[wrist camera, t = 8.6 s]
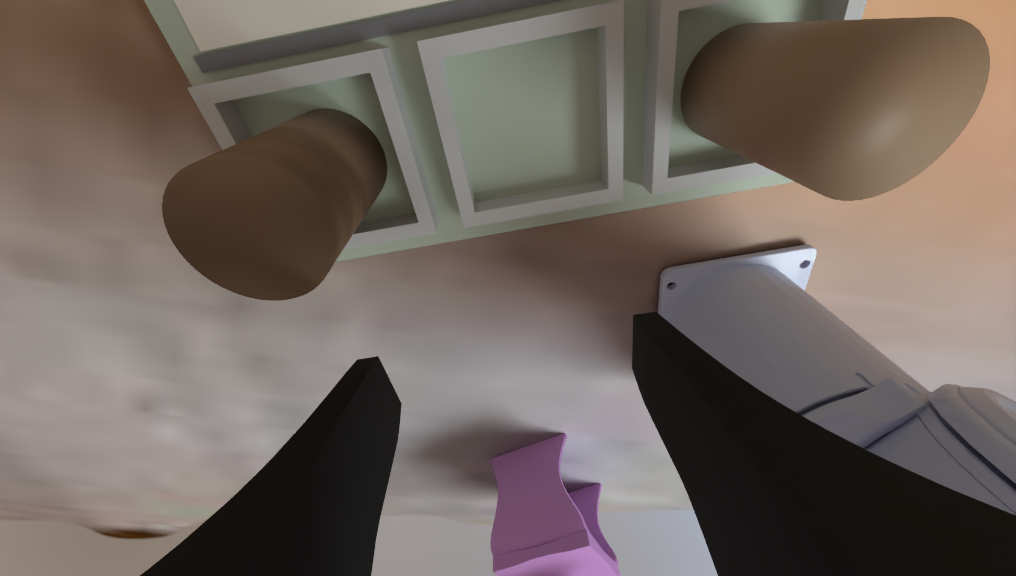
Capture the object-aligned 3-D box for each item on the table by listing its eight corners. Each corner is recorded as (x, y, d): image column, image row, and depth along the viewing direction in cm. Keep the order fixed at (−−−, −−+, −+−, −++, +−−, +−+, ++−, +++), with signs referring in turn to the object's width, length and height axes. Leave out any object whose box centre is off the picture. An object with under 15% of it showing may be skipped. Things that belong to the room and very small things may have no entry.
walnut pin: (400, 198, 17) (356, 286, 11) (313, 215, 17) (224, 311, 11) (364, 98, 14) (285, 142, 9) (265, 120, 15) (122, 177, 9)
